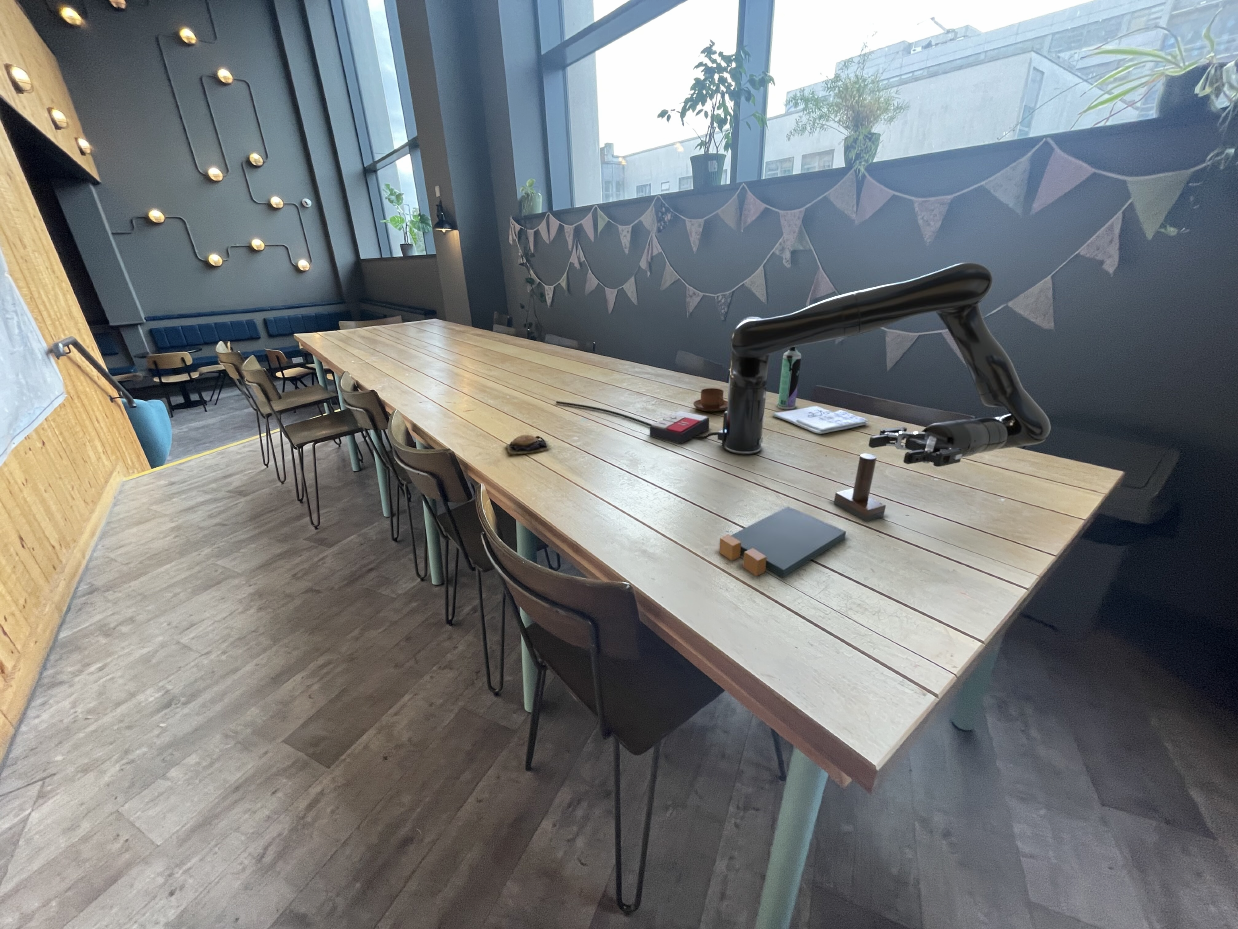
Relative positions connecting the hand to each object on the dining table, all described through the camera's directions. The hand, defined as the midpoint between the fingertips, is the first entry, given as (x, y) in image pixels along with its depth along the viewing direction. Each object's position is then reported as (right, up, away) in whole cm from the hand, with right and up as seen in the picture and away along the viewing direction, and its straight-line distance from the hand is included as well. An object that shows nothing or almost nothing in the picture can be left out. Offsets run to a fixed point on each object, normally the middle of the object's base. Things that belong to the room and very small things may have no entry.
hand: (887, 450), depth 89 cm
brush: (-4, -12, +4) cm, 13 cm away
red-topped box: (-33, +6, +48) cm, 59 cm away
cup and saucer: (-20, +16, +68) cm, 73 cm away
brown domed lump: (-76, +1, +40) cm, 86 cm away
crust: (-28, -18, -13) cm, 36 cm away
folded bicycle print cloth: (+10, +10, +54) cm, 56 cm away
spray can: (+5, +16, +68) cm, 70 cm away
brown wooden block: (-31, -17, -9) cm, 37 cm away
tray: (-21, -16, -6) cm, 28 cm away
